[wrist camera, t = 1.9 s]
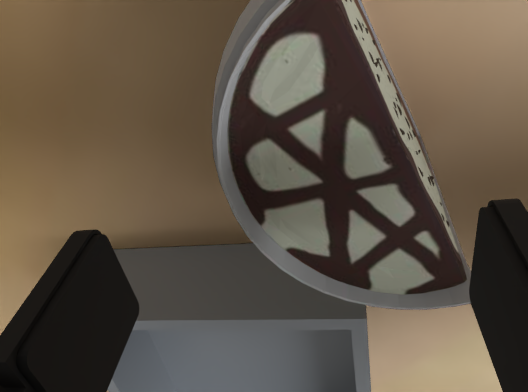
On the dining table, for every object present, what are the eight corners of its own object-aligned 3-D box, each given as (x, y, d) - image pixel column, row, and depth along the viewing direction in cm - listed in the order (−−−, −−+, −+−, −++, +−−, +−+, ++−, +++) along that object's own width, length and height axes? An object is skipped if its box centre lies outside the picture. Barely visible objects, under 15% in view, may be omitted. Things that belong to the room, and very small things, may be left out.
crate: (360, 238, 26) (366, 318, 21) (371, 410, 36) (376, 491, 32) (108, 249, 30) (64, 321, 25) (183, 403, 40) (161, 475, 35)
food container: (199, -1, 20) (104, 79, 12) (323, -84, 17) (313, -57, 9) (323, 201, 25) (318, 352, 17) (431, 159, 23) (485, 311, 15)
